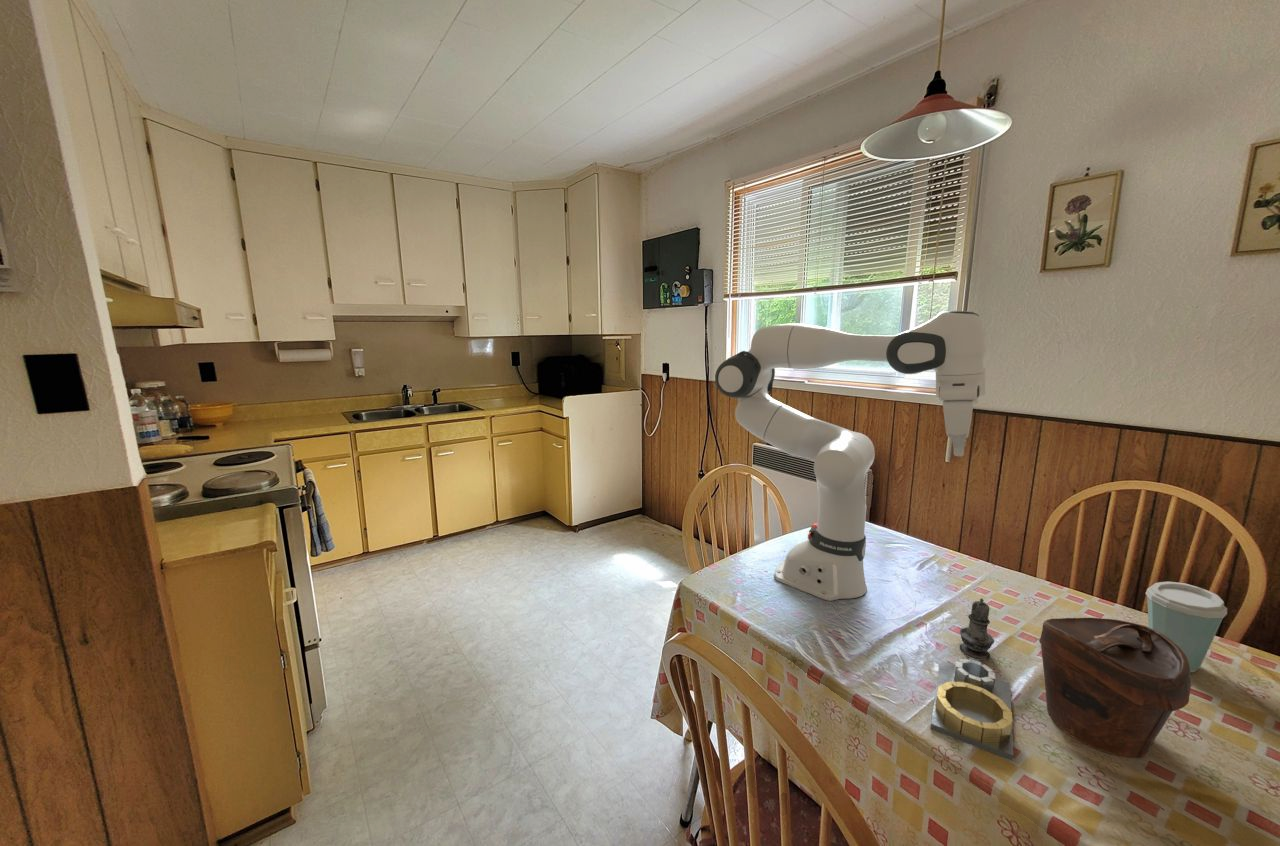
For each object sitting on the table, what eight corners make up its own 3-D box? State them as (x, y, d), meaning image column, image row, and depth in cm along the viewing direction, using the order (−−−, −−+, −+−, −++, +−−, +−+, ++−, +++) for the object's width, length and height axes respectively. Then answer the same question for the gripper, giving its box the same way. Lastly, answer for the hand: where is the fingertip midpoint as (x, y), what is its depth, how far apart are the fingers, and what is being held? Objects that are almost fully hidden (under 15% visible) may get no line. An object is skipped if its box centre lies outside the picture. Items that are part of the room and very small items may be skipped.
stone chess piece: (997, 662, 98) (1006, 607, 96) (964, 659, 99) (972, 604, 97) (983, 644, 104) (991, 592, 101) (952, 641, 105) (959, 589, 102)
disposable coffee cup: (1189, 685, 91) (1206, 611, 88) (1120, 649, 102) (1133, 582, 99) (1226, 674, 94) (1244, 602, 91) (1155, 640, 104) (1170, 574, 101)
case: (1169, 717, 84) (1188, 621, 81) (1184, 801, 70) (1209, 689, 66) (1035, 671, 96) (1047, 586, 92) (1025, 735, 81) (1038, 637, 78)
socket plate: (930, 728, 82) (932, 710, 82) (939, 664, 98) (941, 648, 97) (1012, 760, 76) (1015, 741, 75) (1009, 687, 91) (1011, 670, 91)
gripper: (946, 382, 115) (946, 440, 117) (938, 393, 99) (939, 460, 101) (978, 381, 112) (978, 441, 114) (976, 392, 95) (976, 462, 97)
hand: (960, 450), depth 107 cm, fingers open, 8 cm apart
